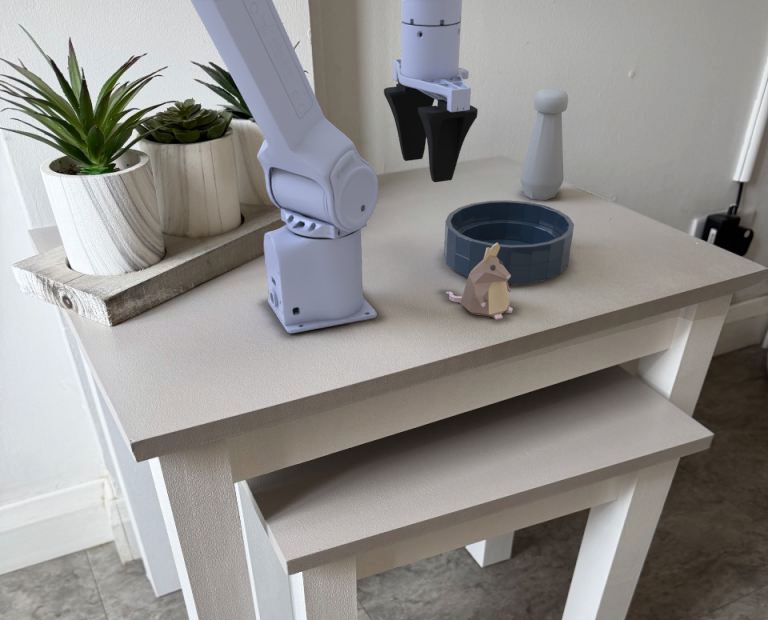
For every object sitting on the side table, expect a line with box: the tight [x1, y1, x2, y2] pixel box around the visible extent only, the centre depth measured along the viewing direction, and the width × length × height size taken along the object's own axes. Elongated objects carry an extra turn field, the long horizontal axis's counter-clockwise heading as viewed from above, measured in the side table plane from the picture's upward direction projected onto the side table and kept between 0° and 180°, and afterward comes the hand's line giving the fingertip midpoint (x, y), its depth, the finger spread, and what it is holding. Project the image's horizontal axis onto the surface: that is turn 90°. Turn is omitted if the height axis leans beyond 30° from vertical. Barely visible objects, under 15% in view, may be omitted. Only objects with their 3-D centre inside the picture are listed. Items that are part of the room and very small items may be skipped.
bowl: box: [443, 199, 575, 285], centre depth 90 cm, size 14×14×4 cm
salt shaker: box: [519, 87, 569, 201], centre depth 104 cm, size 6×6×13 cm
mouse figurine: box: [445, 243, 514, 321], centre depth 81 cm, size 5×8×7 cm, turn 48°
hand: (426, 169), depth 84 cm, fingers open, 7 cm apart
